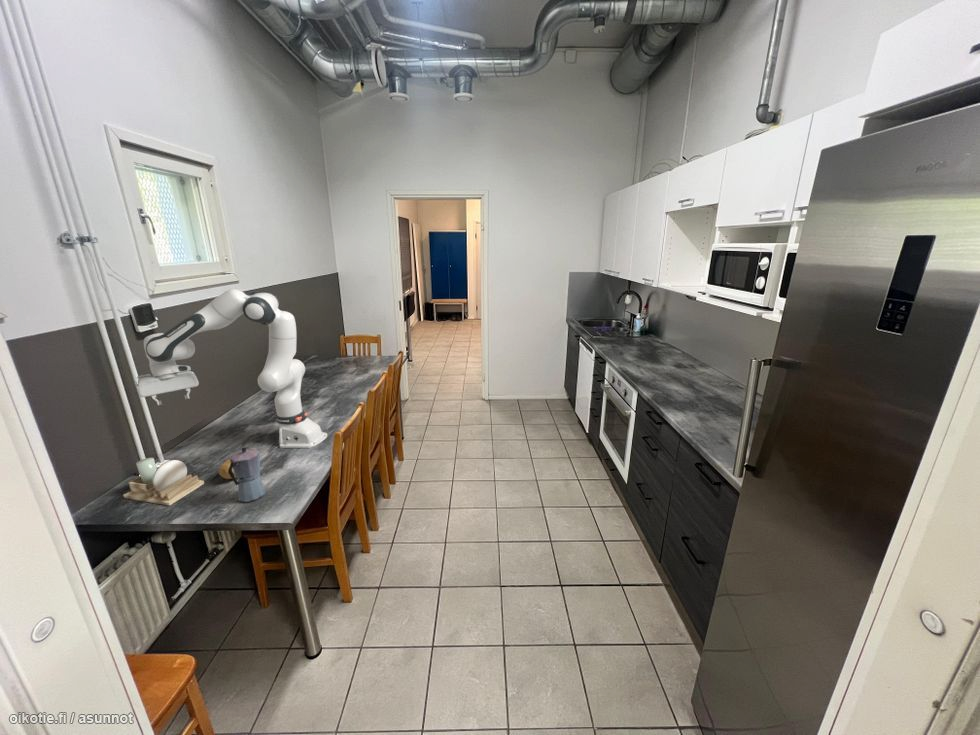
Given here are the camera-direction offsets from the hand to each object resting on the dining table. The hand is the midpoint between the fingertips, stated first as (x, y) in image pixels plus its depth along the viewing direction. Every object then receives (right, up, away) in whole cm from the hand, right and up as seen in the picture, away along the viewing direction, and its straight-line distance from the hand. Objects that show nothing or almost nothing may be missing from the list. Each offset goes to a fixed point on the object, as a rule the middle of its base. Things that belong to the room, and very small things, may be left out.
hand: (174, 401), depth 166 cm
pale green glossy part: (+4, -32, -15) cm, 36 cm away
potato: (+32, -30, -6) cm, 44 cm away
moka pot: (+47, -34, -20) cm, 62 cm away
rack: (+10, -33, -16) cm, 38 cm away
